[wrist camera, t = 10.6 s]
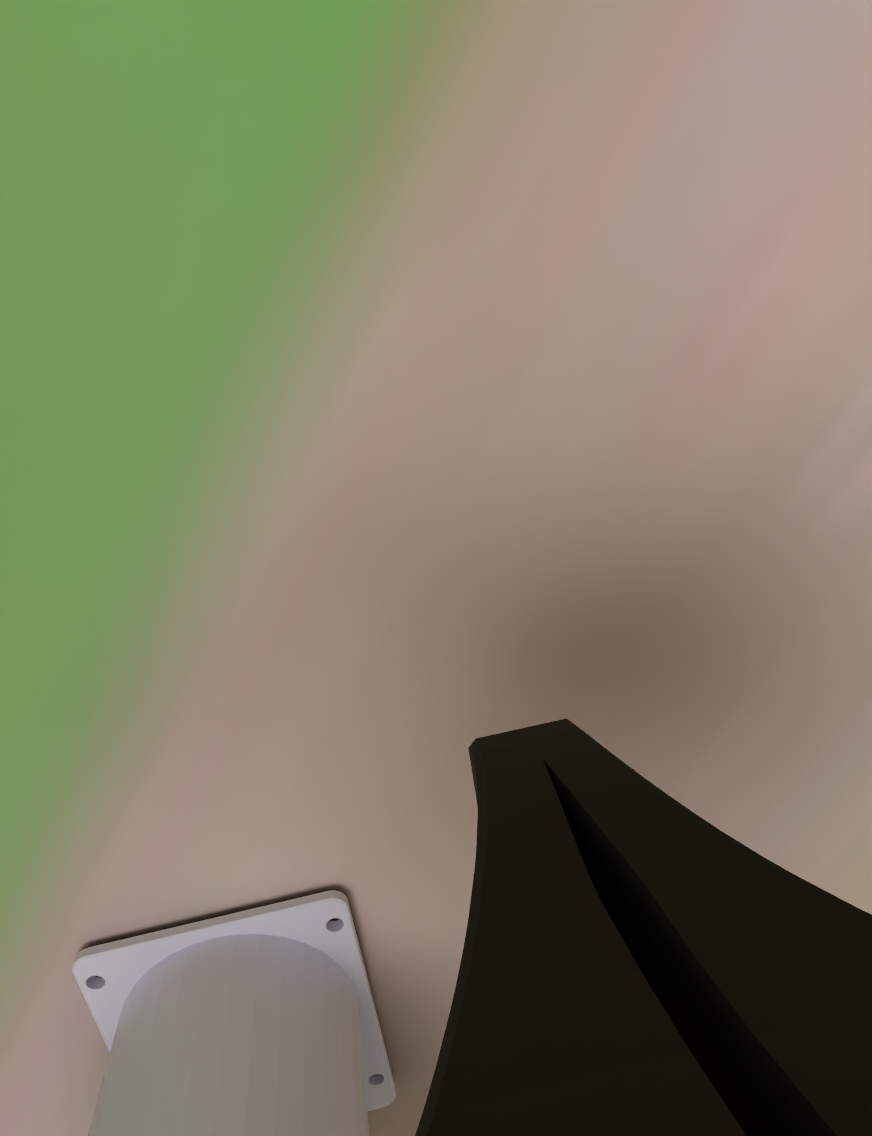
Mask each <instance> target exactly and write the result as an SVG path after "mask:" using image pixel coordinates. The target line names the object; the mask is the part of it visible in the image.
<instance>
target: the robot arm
mask: <svg viewBox="0 0 872 1136" xmlns="http://www.w3.org/2000/svg"><path fill="white" fill-rule="evenodd" d="M469 754H470V760H471V767H472V773H473V779H474V786H475V792H476V798H477V805H478V824H477V848H476V862H475V872H474V880H473V888H472V896H471V904H470V912H469V919H468V926H467V931H466V937H465V943H464V949H463V954H462V959H461V965H460V969H459V974H458V979H457V984H456V988H455V993H454V998H453V1002H452V1006H451V1010H450V1014H449V1018H448V1022H447V1026H446V1030H445V1034H444V1038H443V1042H442V1046H441V1050H440V1054H439V1058H438V1061H437V1065H436V1069H435V1073H434V1076H433V1080H432V1083H431V1087H430V1090H429V1094H428V1097H427V1100H426V1104H425V1107H424V1110H423V1114H422V1117H421V1120H420V1123H419V1126H418V1129H417V1132H416V1135H415V1136H872V915H871V914H869V913H867V912H865V911H863V910H861V909H859V908H857V907H854V906H853V905H851V904H849V903H847V902H845V901H843V900H841V899H839V898H837V897H836V896H834V895H832V894H830V893H828V892H826V891H824V890H822V889H820V888H818V887H817V886H815V885H813V884H811V883H809V882H807V881H805V880H803V879H801V878H800V877H798V876H796V875H794V874H792V873H790V872H788V871H787V870H785V869H783V868H781V867H780V866H778V865H776V864H774V863H773V862H771V861H769V860H767V859H766V858H764V857H762V856H761V855H759V854H757V853H756V852H754V851H752V850H751V849H749V848H748V847H746V846H744V845H743V844H741V843H740V842H738V841H736V840H735V839H733V838H731V837H730V836H728V835H727V834H725V833H723V832H722V831H720V830H719V829H717V828H716V827H714V826H713V825H711V824H710V823H708V822H707V821H705V820H704V819H702V818H701V817H699V816H698V815H696V814H695V813H693V812H692V811H690V810H689V809H687V808H686V807H685V806H683V805H682V804H680V803H679V802H677V801H676V800H675V799H673V798H672V797H670V796H669V795H667V794H666V793H665V792H663V791H662V790H660V789H659V788H657V787H656V786H655V785H653V784H652V783H651V782H649V781H648V780H646V779H645V778H644V777H642V776H641V775H640V774H638V773H637V772H636V771H634V770H633V769H632V768H630V767H629V766H628V765H626V764H625V763H624V762H622V761H621V760H620V759H618V758H617V757H616V756H615V755H613V754H612V753H611V752H609V751H608V750H607V749H606V748H604V747H603V746H602V745H600V744H599V743H598V742H597V741H595V740H594V739H593V738H592V737H590V736H589V735H588V734H586V733H585V732H584V731H583V730H581V729H580V728H579V727H577V726H576V725H575V724H573V723H572V722H570V721H569V720H568V719H563V720H558V721H554V722H549V723H545V724H540V725H536V726H531V727H527V728H522V729H518V730H513V731H509V732H504V733H500V734H495V735H490V736H486V737H481V738H477V739H475V741H474V742H473V743H472V744H471V746H470V747H469ZM333 918H339V919H340V920H337V921H330V919H333ZM72 972H73V975H74V977H75V979H76V981H77V983H78V986H79V988H80V990H81V992H82V994H83V996H84V999H85V1001H86V1003H87V1005H88V1007H89V1009H90V1012H91V1014H92V1016H93V1018H94V1020H95V1022H96V1025H97V1027H98V1029H99V1031H100V1033H101V1035H102V1037H103V1040H104V1042H105V1044H106V1046H107V1048H108V1050H109V1053H110V1054H109V1058H108V1062H107V1066H106V1070H105V1073H104V1077H103V1081H102V1085H101V1089H100V1092H99V1096H98V1100H97V1104H96V1108H95V1111H94V1115H93V1119H92V1123H91V1126H90V1130H89V1134H88V1136H369V1125H368V1112H369V1111H373V1110H377V1109H380V1108H384V1107H386V1106H389V1105H390V1104H391V1103H392V1102H393V1101H394V1100H395V1098H396V1091H395V1083H394V1079H393V1075H392V1072H391V1068H390V1064H389V1060H388V1056H387V1052H386V1048H385V1044H384V1040H383V1036H382V1032H381V1028H380V1024H379V1021H378V1017H377V1013H376V1009H375V1005H374V1001H373V997H372V993H371V989H370V985H369V981H368V977H367V973H366V969H365V966H364V962H363V958H362V954H361V950H360V946H359V942H358V938H357V934H356V930H355V926H354V922H353V918H352V915H351V911H350V907H349V903H348V899H347V897H346V896H345V895H344V894H343V893H342V892H339V891H335V890H332V891H325V892H321V893H317V894H312V895H308V896H304V897H300V898H295V899H291V900H287V901H283V902H279V903H274V904H270V905H266V906H262V907H257V908H253V909H249V910H245V911H240V912H236V913H232V914H228V915H224V916H219V917H215V918H211V919H207V920H202V921H198V922H194V923H190V924H185V925H181V926H177V927H173V928H168V929H164V930H160V931H156V932H152V933H147V934H143V935H139V936H135V937H130V938H126V939H122V940H118V941H113V942H109V943H105V944H101V945H96V946H92V947H88V948H85V949H83V950H81V951H80V952H79V953H78V954H77V955H76V958H75V960H74V963H73V966H72ZM94 976H100V977H98V978H97V977H94Z"/></svg>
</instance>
